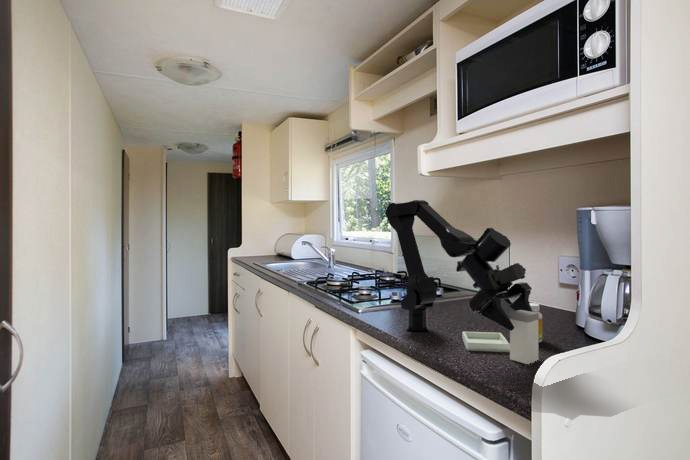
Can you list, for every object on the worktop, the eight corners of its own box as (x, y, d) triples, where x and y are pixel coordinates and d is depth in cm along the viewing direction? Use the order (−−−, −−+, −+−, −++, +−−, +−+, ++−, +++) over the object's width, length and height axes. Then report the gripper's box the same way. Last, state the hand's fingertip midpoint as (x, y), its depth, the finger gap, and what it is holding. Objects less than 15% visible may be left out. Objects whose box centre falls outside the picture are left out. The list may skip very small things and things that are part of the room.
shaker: (509, 359, 94) (509, 312, 94) (520, 355, 96) (520, 309, 96) (527, 364, 90) (527, 315, 90) (538, 360, 93) (538, 313, 93)
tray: (462, 338, 110) (462, 331, 110) (500, 340, 108) (500, 332, 108) (467, 350, 100) (467, 342, 100) (509, 352, 99) (509, 344, 99)
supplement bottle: (536, 337, 111) (536, 302, 111) (546, 343, 106) (546, 306, 105) (516, 337, 111) (516, 302, 110) (526, 343, 105) (526, 306, 105)
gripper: (478, 255, 92) (524, 311, 83) (524, 250, 103) (569, 300, 94) (451, 285, 98) (491, 340, 89) (496, 278, 109) (536, 326, 100)
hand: (524, 326), depth 93 cm, fingers open, 9 cm apart
